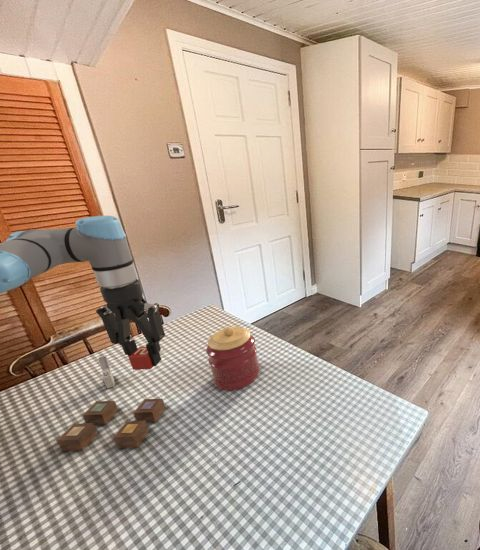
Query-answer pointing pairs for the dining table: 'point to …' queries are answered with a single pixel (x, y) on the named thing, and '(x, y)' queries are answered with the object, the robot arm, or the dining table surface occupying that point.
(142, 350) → the red letter cube
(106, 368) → the lighter
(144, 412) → the right word block
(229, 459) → the dining table surface
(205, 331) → the dining table surface
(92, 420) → the left word block
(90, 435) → the word block
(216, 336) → the kitchen canister
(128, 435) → the right word block
